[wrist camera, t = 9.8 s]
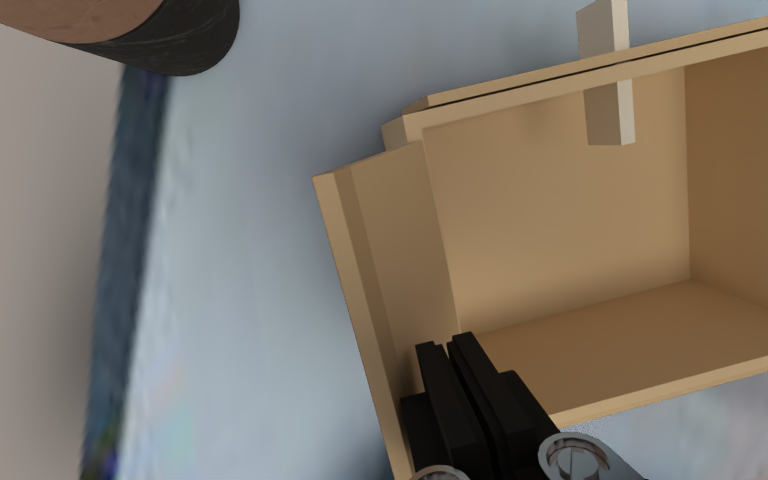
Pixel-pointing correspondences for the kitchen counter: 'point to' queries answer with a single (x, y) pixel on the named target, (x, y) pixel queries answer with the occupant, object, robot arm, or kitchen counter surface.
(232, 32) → the travel mug
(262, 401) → the kitchen counter surface
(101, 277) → the kitchen counter surface
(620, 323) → the carton
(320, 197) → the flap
